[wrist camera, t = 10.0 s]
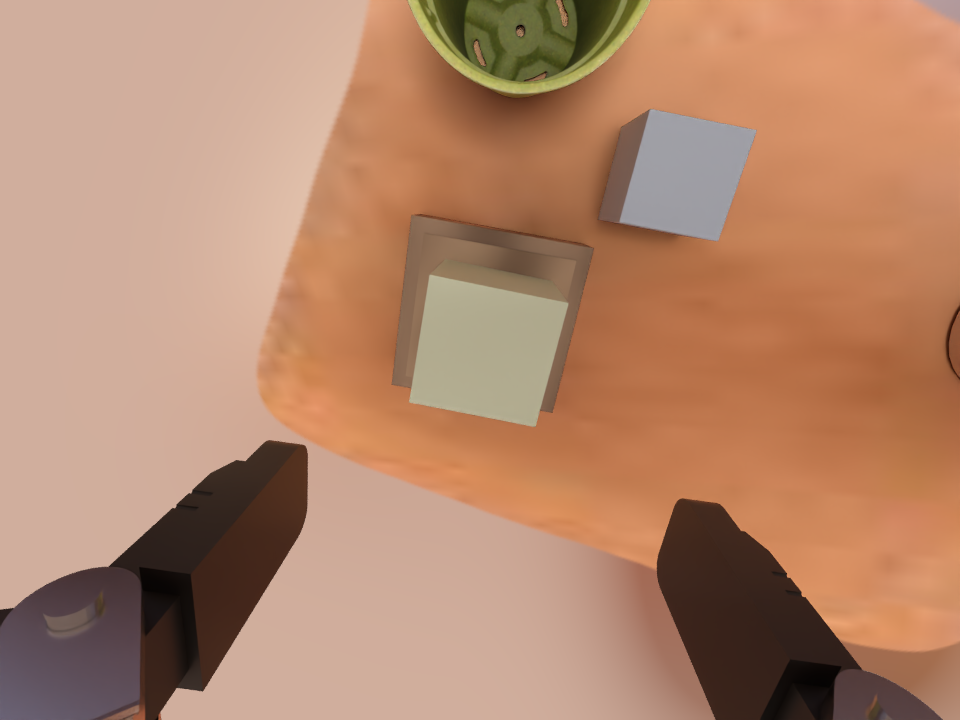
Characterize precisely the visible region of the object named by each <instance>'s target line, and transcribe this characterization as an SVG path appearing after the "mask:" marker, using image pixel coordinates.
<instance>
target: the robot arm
mask: <svg viewBox="0 0 960 720" xmlns="http://www.w3.org/2000/svg"><path fill="white" fill-rule="evenodd" d="M949 357H950V360H951V363H952V366H953V369H954V370H955V372H956V373H957V375H958V376H959V378H960V311H959V313H958V315H957V317H956V319H955V322H954V324H953V326H952V330H951V335H950V339H949ZM307 467H308V453H307V449H306V446H304V445H300V444H293V443H285V442H279V441H271V440H269V441H266V442H265V443H264V444H262V445H261V446H260V448H258V449H257V450H256V451H255V452H254V453H253V454H252V455H251V456H250V457H249V458H248V459H247V460H246V461H239V460H236V461H234V462H232V463H230V464H228V465H226V466H224V467H222V468H220V469H218V470H216V471H214V472H212V473H210V474H209V475H208V476H207V477H206V478H205V479H204V480H203V481H202V482H201V483H199V484H198V485H197V486H196V487H195V488H194V489H193V491H192V493H191V494H190V493H189V494H188V495H186V496H185V497H184V498H183V499H182V500H181V501H180V502H179V503H178V504H177V506H176V508H172V509H171V510H170V511H169V512H168V513H167V514H166V515H164V516H163V517H162V518H161V519H160V520H159V521H158V522H157V523H156V524H155V525H153V526H152V527H151V528H150V529H149V530H148V531H147V532H146V533H145V534H144V535H143V536H142V537H140V538H139V539H138V540H137V541H136V542H135V543H134V544H133V545H132V546H131V547H129V548H128V549H127V550H126V551H125V552H124V553H123V554H122V555H121V556H120V557H118V558H117V559H116V560H115V561H114V562H113V563H112V564H111V565H110V566H109V567H98V568H91V569H87V570H82V571H78V572H76V573H72V574H69V575H67V576H64V577H61V578H59V579H57V580H55V581H53V582H51V583H49V584H46V585H45V586H43V587H42V588H40V589H38V590H36V591H35V592H34V593H32V594H30V595H29V596H28V597H26V598H25V599H24V600H23V601H21V602H20V603H19V604H18V605H17V606H16V607H15V608H10V609H3V610H0V720H161V714H160V712H161V710H162V709H163V707H164V706H165V704H166V703H167V701H168V700H169V698H170V697H171V696H172V694H173V693H174V691H175V690H176V688H183V689H190V690H197V691H204V689H205V687H206V686H207V684H208V682H209V681H210V679H211V678H212V676H213V674H214V673H215V671H216V670H217V668H218V666H219V665H220V663H221V661H222V660H223V658H224V657H225V655H226V653H227V652H228V650H229V648H230V647H231V645H232V643H233V642H234V640H235V638H236V637H237V635H238V634H239V632H240V630H241V629H242V627H243V626H244V624H245V622H246V621H247V619H248V618H249V616H250V614H251V613H252V611H253V609H254V608H255V606H256V605H257V603H258V601H259V600H260V598H261V596H262V595H263V593H264V592H265V590H266V588H267V587H268V585H269V583H270V582H271V580H272V579H273V577H274V575H275V574H276V572H277V570H278V569H279V567H280V566H281V564H282V562H283V561H284V559H285V557H286V556H287V554H288V553H289V551H290V549H291V548H292V546H293V545H294V543H295V541H296V540H297V538H298V536H299V535H300V532H301V530H302V528H303V524H304V521H305V518H306V513H307V487H308V486H307V485H308V481H307V480H308V471H307V470H308V468H307ZM657 577H658V582H659V586H660V588H661V591H662V594H663V596H664V598H665V601H666V603H667V605H668V608H669V610H670V612H671V615H672V617H673V620H674V622H675V624H676V627H677V629H678V631H679V634H680V636H681V639H682V641H683V643H684V646H685V648H686V650H687V653H688V655H689V657H690V660H691V662H692V665H693V667H694V669H695V672H696V674H697V676H698V679H699V681H700V684H701V686H702V688H703V691H704V693H705V695H706V698H707V700H708V702H709V705H710V707H711V710H712V712H713V714H714V717H715V719H716V720H943V719H942V718H941V717H940V716H938V715H937V714H936V713H935V712H934V711H933V710H932V709H931V708H930V707H928V706H927V705H926V704H925V703H923V702H922V701H921V700H919V699H918V698H917V697H916V696H914V695H913V694H911V693H910V692H909V691H907V690H905V689H904V688H902V687H900V686H899V685H897V684H896V683H893V682H891V681H890V680H888V679H886V678H884V677H881V676H879V675H877V674H874V673H871V672H867V671H864V670H862V669H861V667H860V666H859V665H858V664H857V663H856V661H855V660H854V658H853V657H852V656H851V655H850V653H849V652H848V651H847V650H846V649H845V647H844V646H843V644H842V643H841V642H840V641H839V639H838V638H837V637H836V636H835V634H834V633H833V632H832V630H831V629H830V628H829V627H828V625H827V624H826V623H825V622H824V620H823V619H822V618H821V616H820V615H819V614H818V613H817V611H816V610H815V609H814V608H813V606H812V605H811V604H810V602H809V601H808V600H807V599H806V597H802V595H801V593H802V592H801V591H800V590H799V588H798V587H797V586H796V585H795V583H794V582H793V581H792V580H791V578H787V573H786V572H785V571H784V569H783V568H782V567H781V566H780V564H779V563H778V562H777V560H776V559H775V558H774V557H773V555H772V554H771V553H770V552H769V551H768V550H767V549H766V548H764V547H763V546H762V545H761V544H760V543H758V542H757V541H756V540H755V539H753V538H752V537H751V536H750V535H748V534H747V533H746V532H743V531H740V529H739V528H738V527H737V525H736V524H735V522H734V521H733V520H732V518H731V517H730V516H729V514H728V513H727V512H726V510H725V509H724V508H723V507H722V506H721V505H720V504H718V503H711V502H704V501H697V500H690V499H680V500H678V501H677V503H676V504H675V506H674V509H673V512H672V515H671V518H670V521H669V524H668V527H667V530H666V533H665V536H664V539H663V542H662V545H661V549H660V552H659V555H658V560H657Z"/></svg>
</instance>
